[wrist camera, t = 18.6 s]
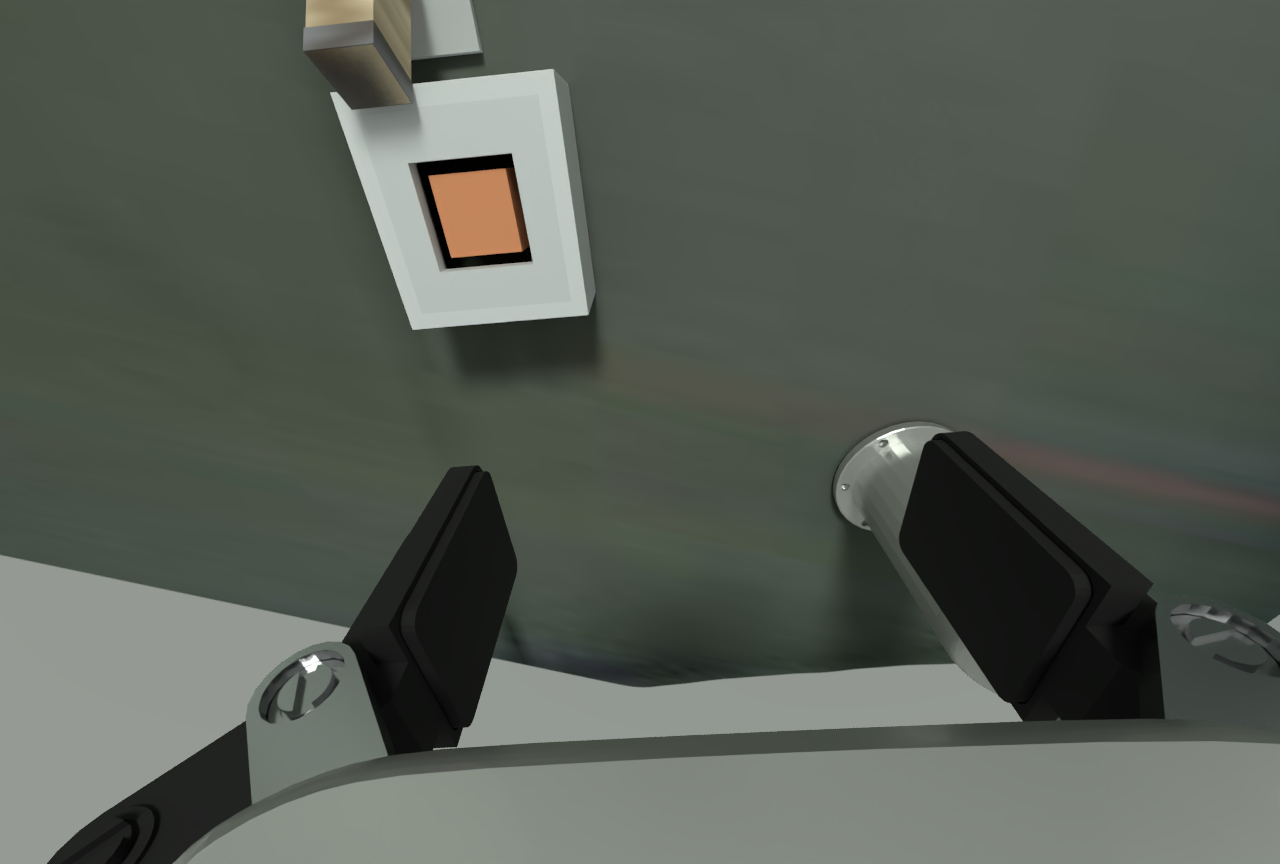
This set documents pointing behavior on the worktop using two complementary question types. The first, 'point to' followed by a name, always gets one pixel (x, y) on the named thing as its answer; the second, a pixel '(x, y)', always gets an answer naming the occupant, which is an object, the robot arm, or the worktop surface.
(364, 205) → the worktop surface
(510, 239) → the orange cube block
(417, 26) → the pad
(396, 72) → the tan wooden block
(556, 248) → the box
